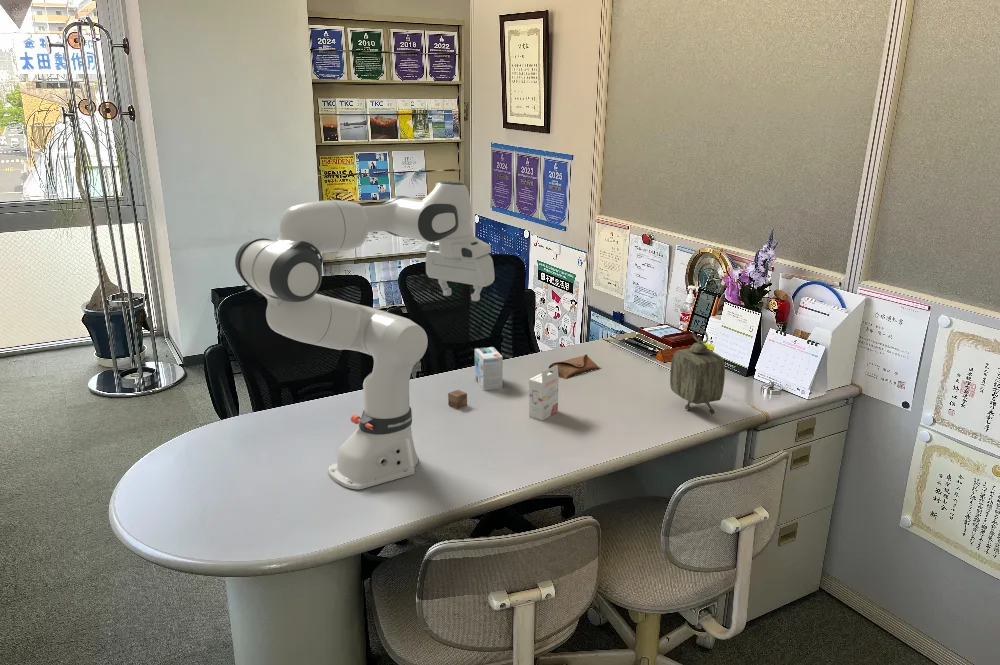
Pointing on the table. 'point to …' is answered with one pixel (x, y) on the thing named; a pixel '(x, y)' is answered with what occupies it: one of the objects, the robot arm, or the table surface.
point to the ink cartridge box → (544, 394)
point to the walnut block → (457, 399)
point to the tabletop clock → (697, 374)
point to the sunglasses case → (574, 366)
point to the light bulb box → (488, 368)
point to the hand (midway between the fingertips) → (461, 297)
